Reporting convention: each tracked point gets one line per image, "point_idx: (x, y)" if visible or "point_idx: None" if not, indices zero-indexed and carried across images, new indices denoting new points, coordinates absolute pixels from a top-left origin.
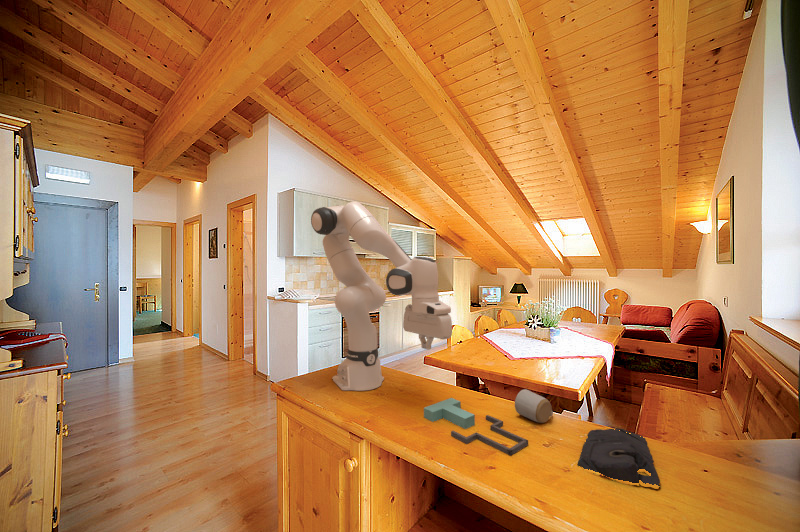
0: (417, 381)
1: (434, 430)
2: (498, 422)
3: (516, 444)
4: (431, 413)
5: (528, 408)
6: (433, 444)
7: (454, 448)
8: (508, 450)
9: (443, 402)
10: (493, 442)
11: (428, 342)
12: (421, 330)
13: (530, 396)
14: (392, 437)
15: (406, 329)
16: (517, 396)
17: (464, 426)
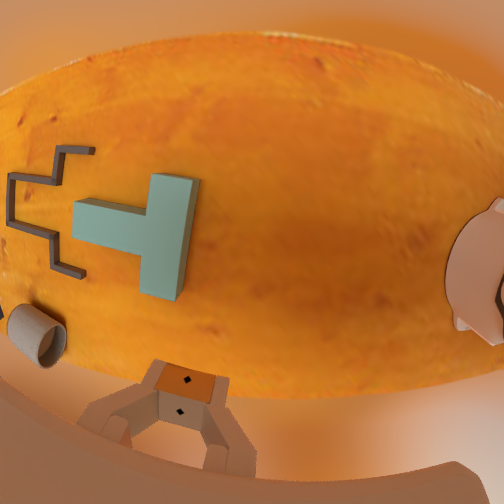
0: (370, 375)
1: (135, 139)
2: (52, 258)
3: (8, 198)
4: (159, 174)
5: (24, 313)
6: (106, 91)
7: (71, 114)
8: (10, 173)
9: (169, 256)
10: (26, 175)
11: (120, 394)
12: (145, 501)
13: (19, 337)
14: (199, 44)
15: (441, 478)
16: (38, 338)
17: (87, 198)
